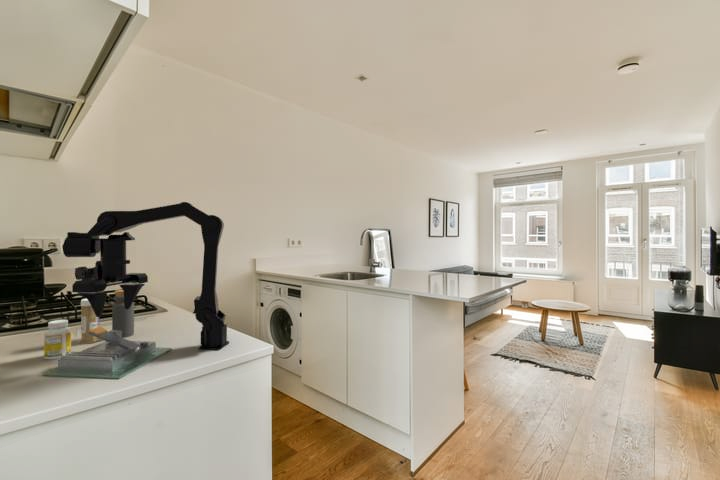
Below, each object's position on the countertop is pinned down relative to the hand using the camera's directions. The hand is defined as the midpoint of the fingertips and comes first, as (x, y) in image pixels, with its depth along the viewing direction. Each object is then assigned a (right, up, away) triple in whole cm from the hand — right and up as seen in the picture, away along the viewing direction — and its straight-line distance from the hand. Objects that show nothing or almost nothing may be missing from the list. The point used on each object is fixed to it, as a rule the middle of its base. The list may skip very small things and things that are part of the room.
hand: (113, 312), depth 90 cm
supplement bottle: (-14, -12, -1) cm, 19 cm away
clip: (-1, -9, 0) cm, 9 cm away
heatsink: (+4, -12, -4) cm, 13 cm away
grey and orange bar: (+4, -7, -4) cm, 9 cm away
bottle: (-10, -12, +18) cm, 23 cm away
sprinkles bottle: (-16, -12, +11) cm, 22 cm away
